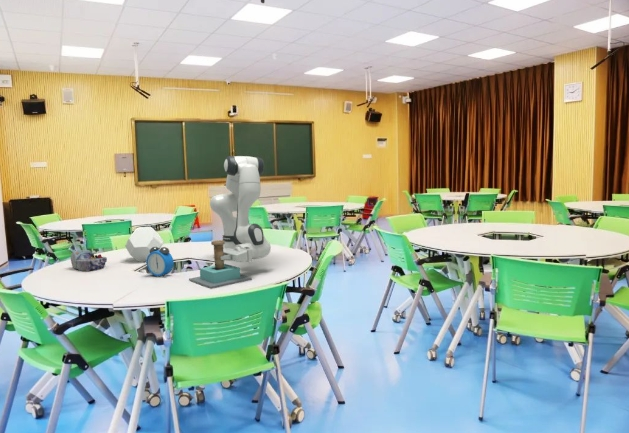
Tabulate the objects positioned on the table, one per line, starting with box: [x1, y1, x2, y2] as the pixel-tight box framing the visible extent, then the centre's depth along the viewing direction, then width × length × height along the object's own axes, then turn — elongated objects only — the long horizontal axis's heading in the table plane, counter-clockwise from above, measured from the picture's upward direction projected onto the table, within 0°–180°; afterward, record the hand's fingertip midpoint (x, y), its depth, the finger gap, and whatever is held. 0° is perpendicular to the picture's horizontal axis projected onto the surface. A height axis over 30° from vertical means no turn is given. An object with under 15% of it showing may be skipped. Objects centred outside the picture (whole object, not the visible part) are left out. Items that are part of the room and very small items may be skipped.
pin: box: [211, 239, 225, 270], centre depth 220 cm, size 6×6×17 cm
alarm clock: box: [146, 246, 175, 278], centre depth 235 cm, size 13×6×15 cm, turn 67°
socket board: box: [188, 263, 253, 290], centre depth 221 cm, size 22×22×6 cm
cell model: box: [70, 249, 108, 272], centre depth 257 cm, size 13×11×20 cm
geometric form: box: [124, 226, 165, 263], centre depth 276 cm, size 20×20×20 cm
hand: (217, 257), depth 219 cm, fingers closed on pin, 4 cm apart
